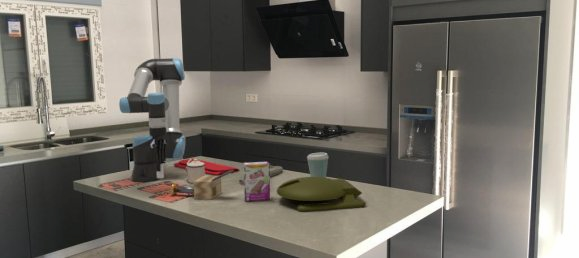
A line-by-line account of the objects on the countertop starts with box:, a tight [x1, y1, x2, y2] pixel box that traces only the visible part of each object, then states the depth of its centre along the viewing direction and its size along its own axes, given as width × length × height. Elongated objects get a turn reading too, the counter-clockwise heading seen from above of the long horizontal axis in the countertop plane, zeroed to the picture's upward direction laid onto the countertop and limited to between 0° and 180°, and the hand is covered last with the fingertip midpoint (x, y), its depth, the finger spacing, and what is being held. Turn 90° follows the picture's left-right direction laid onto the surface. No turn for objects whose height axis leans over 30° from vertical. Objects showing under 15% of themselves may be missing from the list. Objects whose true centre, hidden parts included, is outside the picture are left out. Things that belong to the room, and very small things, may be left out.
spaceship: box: [276, 176, 367, 213], centre depth 211 cm, size 35×31×10 cm
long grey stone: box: [238, 164, 284, 186], centre depth 256 cm, size 35×5×10 cm
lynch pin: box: [169, 183, 194, 196], centre depth 222 cm, size 13×5×5 cm, turn 75°
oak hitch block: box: [192, 174, 223, 201], centre depth 221 cm, size 8×12×8 cm, turn 165°
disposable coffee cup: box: [306, 151, 329, 178], centre depth 239 cm, size 11×11×15 cm
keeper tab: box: [212, 170, 234, 181], centre depth 217 cm, size 9×6×1 cm
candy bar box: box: [242, 161, 271, 203], centre depth 213 cm, size 11×5×16 cm, turn 102°
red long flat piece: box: [173, 158, 240, 176], centre depth 279 cm, size 16×41×4 cm, turn 48°
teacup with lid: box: [185, 158, 206, 184], centre depth 250 cm, size 12×9×12 cm
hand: (160, 177), depth 224 cm, fingers closed
